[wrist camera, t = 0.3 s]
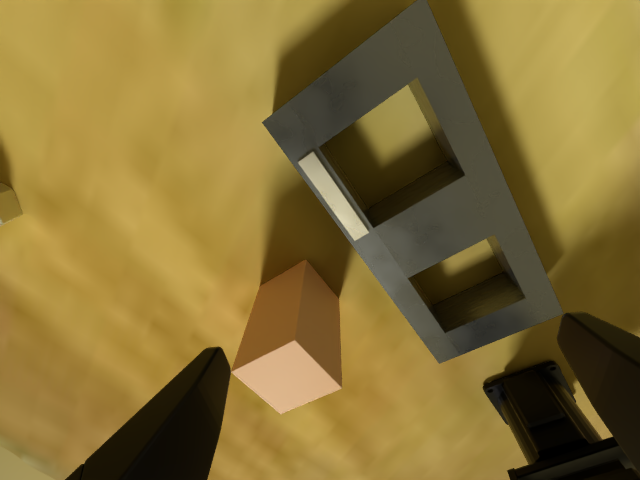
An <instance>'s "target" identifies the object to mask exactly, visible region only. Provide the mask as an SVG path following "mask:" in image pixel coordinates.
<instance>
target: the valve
mask: <svg viewBox="0 0 640 480" xmlns="http://www.w3.org/2000/svg"><path fill="white" fill-rule="evenodd" d="M21 215H23V214H22V211H21V208H20V206H19V203H18V200H17V198H16V195H15V193H14V191H13V189H12V188H10V187H8V186H6V185H5V184H3V183H1V182H0V226H2V225H4V224H6V223H8V222H10V221H12V220H14V219H15V218H17V217H19V216H21Z"/></svg>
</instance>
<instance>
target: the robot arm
mask: <svg viewBox="0 0 640 480" xmlns="http://www.w3.org/2000/svg"><path fill="white" fill-rule="evenodd" d="M557 341H558V345H559V347H560V349H561V351H562V353H563V354H564V356H565V358H566V360H567V362H568V363H569V365H570V367H571V369H572V370H573V372H574V374H575V376H576V378H577V379H578V381H579V383H580V385H581V387H582V388H583V390H584V392H585V394H586V396H587V397H588V399H589V401H590V402H591V404H592V406H593V407H594V409H595V410H596V412H597V413H598V415H599V416H600V418H601V419H602V421H603V422H604V424H605V425H606V427H607V428H608V429H609V431H610V432H611V434H612V435H613V437H610V438H607V439H604V440H603V439H602V438H601V437H600V435H599V434H598V433H597V431H596V430H595V429H594V427H593V426H592V425H591V423H590V422H589V420H588V419H587V418H586V416H585V415H584V414H583V412H582V411H581V410H580V408H579V407H578V406H577V404H576V400H575V398H574V396H573V394H572V392H571V390H570V388H569V386H568V384H567V382H566V380H565V378H564V376H563V374H562V372H561V370H560V368H559V366H558V365H557V364H556V362H554V361H548V362H546V363H543V364H540V365H537V366H535V367H532V368H529V369H526V370H524V371H521V372H518V373H515V374H513V375H510V376H507V377H504V378H502V379H499V380H496V381H493V382H491V383H488V384H485V385H484V386H483V390H484V392H485V394H486V395H487V397H488V398H489V400H490V401H491V403H492V404H493V405H494V407H495V408H496V410H497V411H498V413H499V414H500V416H501V417H502V419H503V420H504V422H505V423H506V424H507V425H509V426H510V428H511V430H512V432H513V434H514V436H515V438H516V440H517V442H518V444H519V446H520V448H521V450H522V452H523V454H524V456H525V458H526V460H527V462H528V464H529V465H526V466H523V467H520V468H517V469H514V468H513V469H510V470H507V471H508V474H509V477H510V480H640V337H637V336H635V335H633V334H631V333H629V332H627V331H624V330H622V329H620V328H618V327H616V326H614V325H611V324H609V323H607V322H605V321H603V320H601V319H598V318H596V317H594V316H592V315H590V314H588V313H585V312H572V313H566V314H564V315H563V316H562V319H561V323H560V327H559V332H558V336H557ZM230 374H231V370H230V365H229V363H228V361H227V358H226V356H225V354H224V351H223V349H222V348H221V347H210V348H206V349H204V350H203V351H202V352H201V353H200V354H199V355H198V356H197V357H196V358H195V359H194V360H193V361H192V362H190V363H189V364H188V365H187V366H186V367H185V368H184V369H183V370H182V371H181V372H180V373H179V374H178V375H177V376H175V377H174V378H173V379H172V380H171V381H170V382H169V383H168V384H167V385H166V386H165V387H164V388H163V389H162V390H161V391H159V392H158V393H157V394H156V395H155V396H154V397H153V398H152V399H151V400H150V401H149V402H148V403H147V404H146V405H144V406H143V407H142V408H141V409H140V410H139V411H138V412H137V413H136V414H135V415H134V416H133V417H132V418H131V419H130V420H128V421H127V422H126V423H125V424H124V425H123V426H122V427H121V428H120V429H119V430H118V431H117V432H116V433H115V434H114V435H112V436H111V437H110V438H109V439H108V440H107V441H106V442H105V443H104V444H103V445H102V446H101V447H100V448H99V449H97V450H96V451H95V452H94V453H93V454H92V455H91V456H90V457H89V458H88V459H87V460H86V461H85V464H81V465H80V466H79V467H78V468H77V469H76V470H75V471H74V472H73V473H72V474H71V475H70V476H68V477H67V478H66V479H65V480H207V479H208V475H209V471H210V468H211V464H212V461H213V457H214V453H215V450H216V446H217V443H218V439H219V435H220V431H221V426H222V421H223V415H224V410H225V404H226V398H227V392H228V386H229V381H230Z"/></svg>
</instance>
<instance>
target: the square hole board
mask: <svg viewBox="0 0 640 480" xmlns="http://www.w3.org/2000/svg"><path fill="white" fill-rule="evenodd" d="M407 84H408V85H409V87H410V89H411V91H412V93H413V95H414V97H415V99H416V101H417V103H418V105H419V107H420V109H421V111H422V113H423V115H424V117H425V119H426V121H427V123H428V124H429V126H430V128H431V130H432V132H433V134H434V136H435V138H436V140H437V142H438V144H439V146H440V148H441V150H442V152H443V154H444V156H445V158H446V160H447V162H446V163H444V164H442V165H441V166H439V167H437V168H436V169H434V170H432V171H431V172H429V173H427V174H426V175H424V176H422V177H421V178H419V179H417V180H416V181H414V182H412V183H411V184H409V185H407V186H406V187H404V188H402V189H401V190H399V191H397V192H396V193H394V194H392V195H391V196H389V197H387V198H386V199H384V200H382V201H381V202H379V203H377V204H376V205H374V206H372V207H371V208H369V209H368V208H367V206H366V205H365V203H364V202H363V200H362V199H361V197H360V196H359V194H358V193H357V191H356V190H355V188H354V187H353V185H352V184H351V182H350V181H349V179H348V178H347V176H346V175H345V173H344V172H343V170H342V169H341V167H340V166H339V164H338V163H337V161H336V160H335V158H334V157H333V155H332V154H331V152H330V151H329V150H328V148H327V147H326V145H325V144H324V143H325V142H327V141H328V140H330V139H331V138H332V137H334V136H335V135H337V134H338V133H339V132H341V131H342V130H344V129H345V128H347V127H348V126H349V125H351V124H352V123H354V122H355V121H356V120H358V119H359V118H361V117H362V116H363V115H365V114H366V113H368V112H369V111H371V110H372V109H373V108H375V107H376V106H378V105H379V104H380V103H382V102H383V101H385V100H386V99H388V98H389V97H390V96H392V95H393V94H395V93H396V92H397V91H399V90H400V89H402V88H403V87H405V86H406V85H407ZM262 123H263V124H264V126H265V127H266V128H267V130H268V131H269V133H270V134H271V135H272V137H273V138H274V139H275V141H276V142H277V143H278V145H279V146H280V148H281V149H282V150H283V152H284V153H285V154H286V156H287V157H288V158H289V160H290V161H291V163H292V164H293V165H294V167H295V168H296V169H297V171H298V172H299V173H300V175H301V176H302V178H303V179H304V180H305V182H306V183H307V184H308V186H309V187H310V188H311V190H312V191H313V192H314V194H315V195H316V197H317V198H318V199H319V201H320V202H321V203H322V205H323V206H324V207H325V209H326V210H327V212H328V213H329V214H330V216H331V217H332V218H333V220H334V221H335V222H336V224H337V225H338V227H339V228H340V229H341V231H342V232H343V233H344V235H345V236H346V237H347V239H348V240H349V242H350V243H351V244H352V246H353V247H354V248H355V250H356V251H357V252H358V254H359V255H360V256H361V258H362V259H363V261H364V262H365V263H366V265H367V266H368V267H369V269H370V270H371V271H372V273H373V274H374V276H375V277H376V278H377V280H378V281H379V282H380V284H381V285H382V286H383V288H384V289H385V291H386V292H387V293H388V295H389V296H390V297H391V299H392V300H393V301H394V303H395V304H396V305H397V307H398V308H399V310H400V311H401V312H402V314H403V315H404V316H405V318H406V319H407V320H408V322H409V323H410V325H411V326H412V327H413V329H414V330H415V331H416V333H417V334H418V335H419V337H420V338H421V340H422V341H423V342H424V344H425V345H426V346H427V348H428V349H429V350H430V352H431V353H432V355H433V356H434V357H435V359H436V360H437V361H438V363H439V364H440V363H442V362H445V361H447V360H450V359H452V358H455V357H457V356H460V355H462V354H465V353H467V352H470V351H472V350H475V349H477V348H480V347H482V346H485V345H487V344H490V343H492V342H495V341H497V340H499V339H502V338H504V337H507V336H509V335H512V334H514V333H517V332H519V331H522V330H524V329H527V328H529V327H532V326H534V325H537V324H539V323H542V322H544V321H547V320H549V319H552V318H554V317H557V316H559V315H562V314H564V313H563V311H562V308H561V306H560V304H559V302H558V299H557V297H556V295H555V292H554V290H553V288H552V286H551V283H550V281H549V279H548V276H547V274H546V272H545V270H544V267H543V265H542V263H541V260H540V258H539V256H538V254H537V251H536V249H535V247H534V244H533V242H532V240H531V238H530V235H529V233H528V231H527V228H526V226H525V224H524V222H523V219H522V217H521V215H520V212H519V210H518V208H517V206H516V203H515V201H514V199H513V196H512V194H511V192H510V190H509V187H508V185H507V183H506V180H505V178H504V176H503V174H502V171H501V169H500V167H499V164H498V162H497V160H496V157H495V155H494V153H493V151H492V148H491V146H490V144H489V141H488V139H487V137H486V135H485V132H484V130H483V128H482V125H481V123H480V121H479V119H478V116H477V114H476V112H475V109H474V107H473V105H472V103H471V100H470V98H469V96H468V93H467V91H466V89H465V87H464V84H463V82H462V80H461V77H460V75H459V73H458V71H457V68H456V66H455V64H454V61H453V59H452V57H451V55H450V52H449V50H448V48H447V45H446V43H445V41H444V39H443V36H442V34H441V32H440V29H439V27H438V25H437V23H436V20H435V18H434V16H433V13H432V11H431V9H430V7H429V4H428V2H427V0H417V1H415V2H414V3H413V4H412V5H410V6H409V7H408V8H407V9H405V10H404V11H403V12H402V13H400V14H399V15H398V16H396V17H395V18H394V19H393V20H391V21H390V22H389V23H388V24H386V25H385V26H384V27H382V28H381V29H380V30H379V31H377V32H376V33H375V34H374V35H372V36H371V37H370V38H368V39H367V40H366V41H365V42H363V43H362V44H361V45H360V46H358V47H357V48H356V49H355V50H353V51H352V52H351V53H349V54H348V55H347V56H346V57H344V58H343V59H342V60H341V61H339V62H338V63H337V64H335V65H334V66H333V67H332V68H330V69H329V70H328V71H327V72H325V73H324V74H323V75H321V76H320V77H319V78H318V79H316V80H315V81H314V82H313V83H311V84H310V85H309V86H308V87H306V88H305V89H304V90H302V91H301V92H300V93H299V94H297V95H296V96H295V97H294V98H292V99H291V100H290V101H288V102H287V103H286V104H285V105H283V106H282V107H281V108H280V109H278V110H277V111H276V112H274V113H273V114H272V115H271V116H269V117H268V118H267V119H266V120H264V121H263V122H262ZM486 238H487V240H488V242H489V244H490V246H491V248H492V250H493V252H494V254H495V256H496V258H497V260H498V262H499V264H500V266H501V268H502V270H503V272H504V273H502V274H500V275H498V276H495V277H493V278H491V279H489V280H487V281H485V282H483V283H480V284H478V285H476V286H474V287H472V288H470V289H467V290H465V291H463V292H461V293H459V294H457V295H454V296H452V297H450V298H448V299H446V300H444V301H442V302H439V303H437V304H435V305H432V304H431V302H430V301H429V299H428V298H427V296H426V295H425V293H424V292H423V290H422V289H421V287H420V286H419V284H418V283H417V281H416V280H415V278H414V277H413V275H415V274H417V273H419V272H421V271H423V270H425V269H427V268H429V267H431V266H433V265H435V264H437V263H439V262H441V261H443V260H445V259H446V258H448V257H450V256H452V255H454V254H456V253H458V252H460V251H462V250H464V249H466V248H468V247H470V246H472V245H474V244H476V243H478V242H480V241H482V240H484V239H486Z"/></svg>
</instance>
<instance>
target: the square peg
mask: <svg viewBox="0 0 640 480" xmlns="http://www.w3.org/2000/svg"><path fill="white" fill-rule="evenodd" d="M231 372H232V373H233V374H234V375H235V376H236V377H237V378H239V379H240V380H241V381H242V382H243V383H245V384H246V385H247V386H248V387H249V388H250V389H252V390H253V391H254V392H255V393H256V394H257V395H259V396H260V397H261V398H262V399H263V400H265V401H266V402H267V403H268V404H269V405H270V406H272V407H273V408H274V409H275V410H276V411H278V412H279V413H280V414H282V413H284V412H287V411H289V410H291V409H294V408H296V407H299V406H301V405H303V404H306V403H308V402H311V401H313V400H315V399H318V398H320V397H323V396H325V395H327V394H330V393H332V392H334V391H337V390H339V389H342V373H341V343H340V312H339V298H338V297H337V296H336V295H335V294H334V292H333V291H332V290H331V289H330V288H329V286H328V285H327V284H326V283H325V282H324V280H323V279H322V278H321V277H320V276H319V274H318V273H317V272H316V271H315V270H314V268H313V267H312V266H311V265H310V264H309V262H308V261H307V260H306V259H305V260H304V261H302V262H300V263H299V264H297V265H295V266H294V267H292V268H290V269H288V270H287V271H285V272H283V273H282V274H280V275H278V276H276V277H275V278H273V279H271V280H270V281H268V282H266V283H265V284H263V285H261V286H260V287H259V290H258V293H257V296H256V299H255V302H254V305H253V308H252V311H251V314H250V317H249V320H248V323H247V326H246V329H245V332H244V335H243V338H242V341H241V344H240V347H239V350H238V353H237V356H236V359H235V362H234V365H233V368H232V371H231Z"/></svg>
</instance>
